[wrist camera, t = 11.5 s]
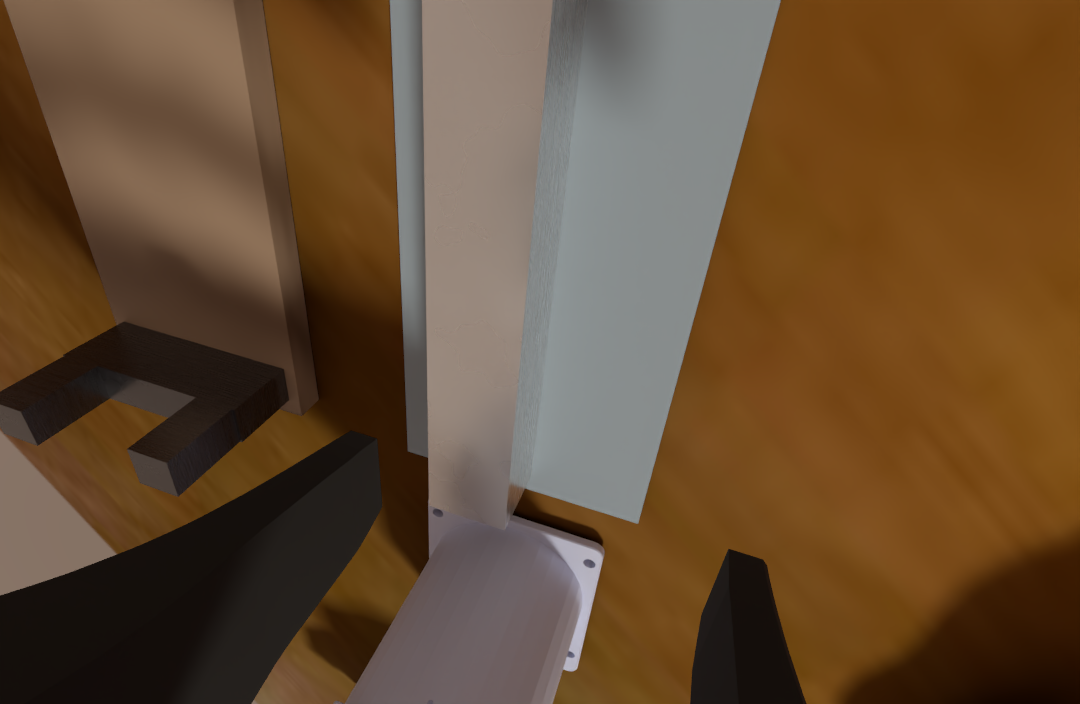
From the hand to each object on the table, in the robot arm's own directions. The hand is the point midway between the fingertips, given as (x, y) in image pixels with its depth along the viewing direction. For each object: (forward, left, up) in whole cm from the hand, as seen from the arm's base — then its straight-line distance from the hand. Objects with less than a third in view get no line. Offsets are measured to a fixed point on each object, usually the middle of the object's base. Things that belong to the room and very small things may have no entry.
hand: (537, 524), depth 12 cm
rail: (+3, +4, -9) cm, 10 cm away
